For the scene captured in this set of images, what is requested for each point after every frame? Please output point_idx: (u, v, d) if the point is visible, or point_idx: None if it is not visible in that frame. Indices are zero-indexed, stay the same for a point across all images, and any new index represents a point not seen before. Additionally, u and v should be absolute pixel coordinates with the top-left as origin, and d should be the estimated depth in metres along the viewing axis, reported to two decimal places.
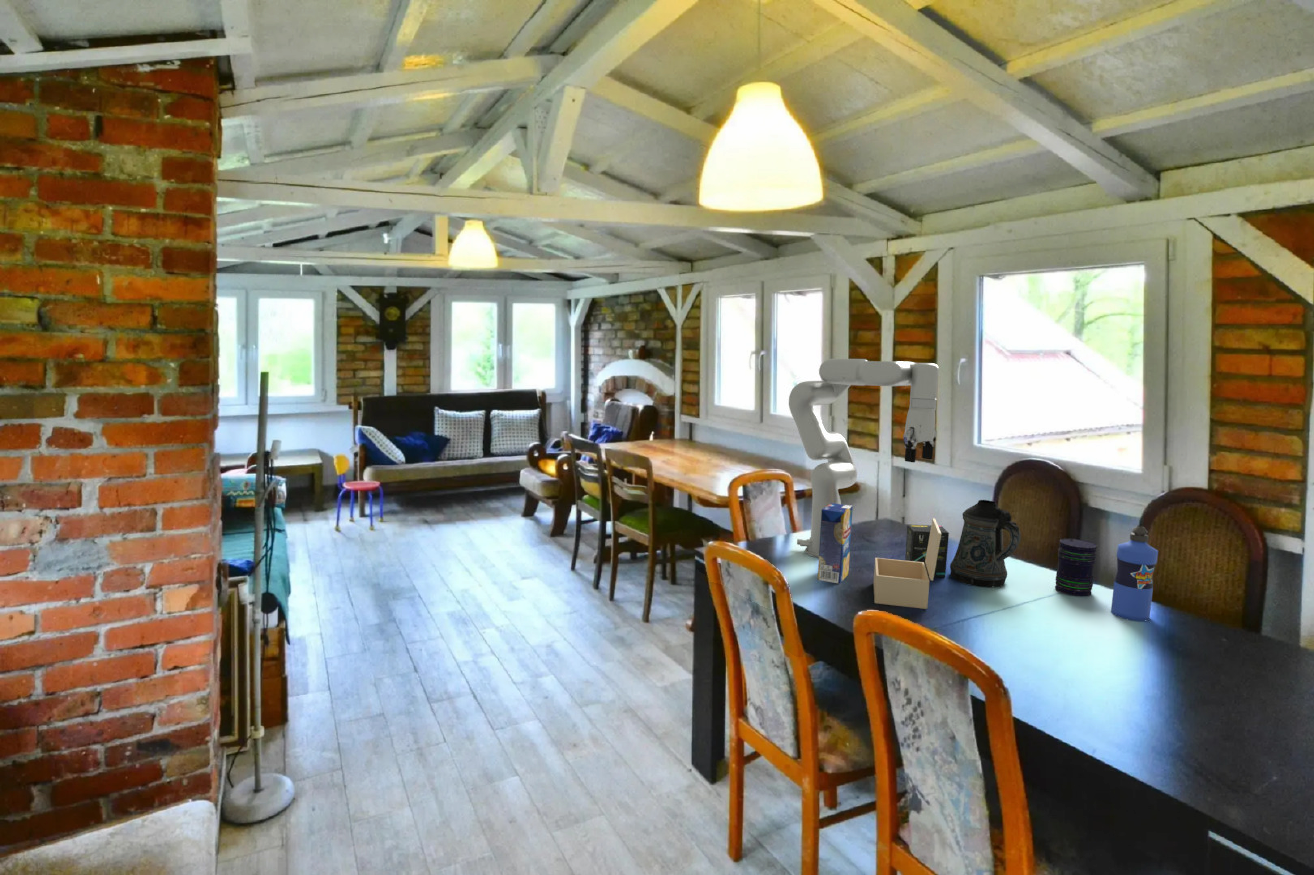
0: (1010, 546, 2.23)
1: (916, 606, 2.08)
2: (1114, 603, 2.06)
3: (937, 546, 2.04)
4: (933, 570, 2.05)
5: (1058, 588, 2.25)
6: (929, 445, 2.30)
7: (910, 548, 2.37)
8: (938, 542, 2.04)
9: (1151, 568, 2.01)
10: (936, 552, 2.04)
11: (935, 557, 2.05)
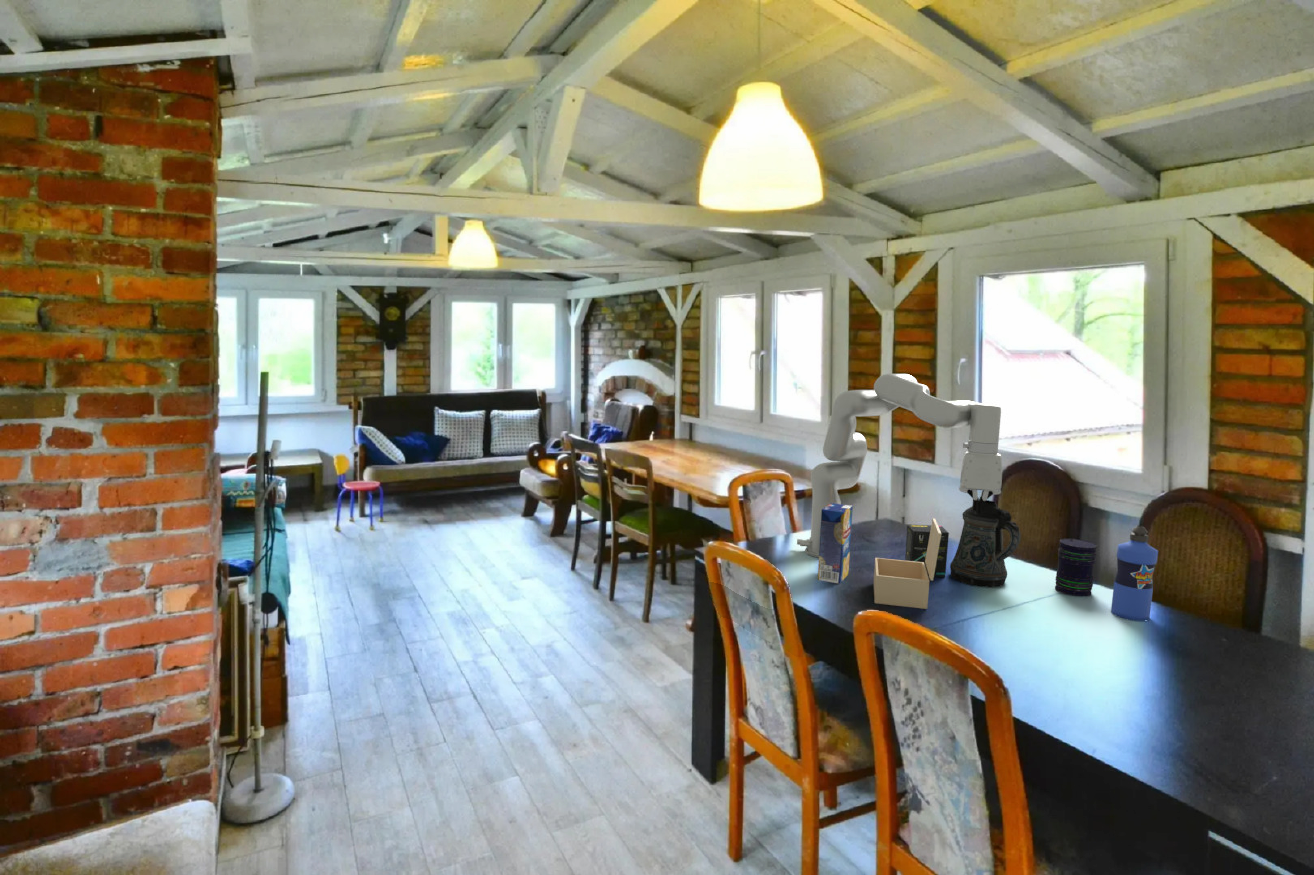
0: (1010, 546, 2.23)
1: (916, 606, 2.08)
2: (1114, 603, 2.06)
3: (937, 546, 2.04)
4: (933, 570, 2.05)
5: (1058, 588, 2.25)
6: None
7: (910, 548, 2.37)
8: (938, 542, 2.04)
9: (1151, 568, 2.01)
10: (936, 552, 2.04)
11: (935, 557, 2.05)
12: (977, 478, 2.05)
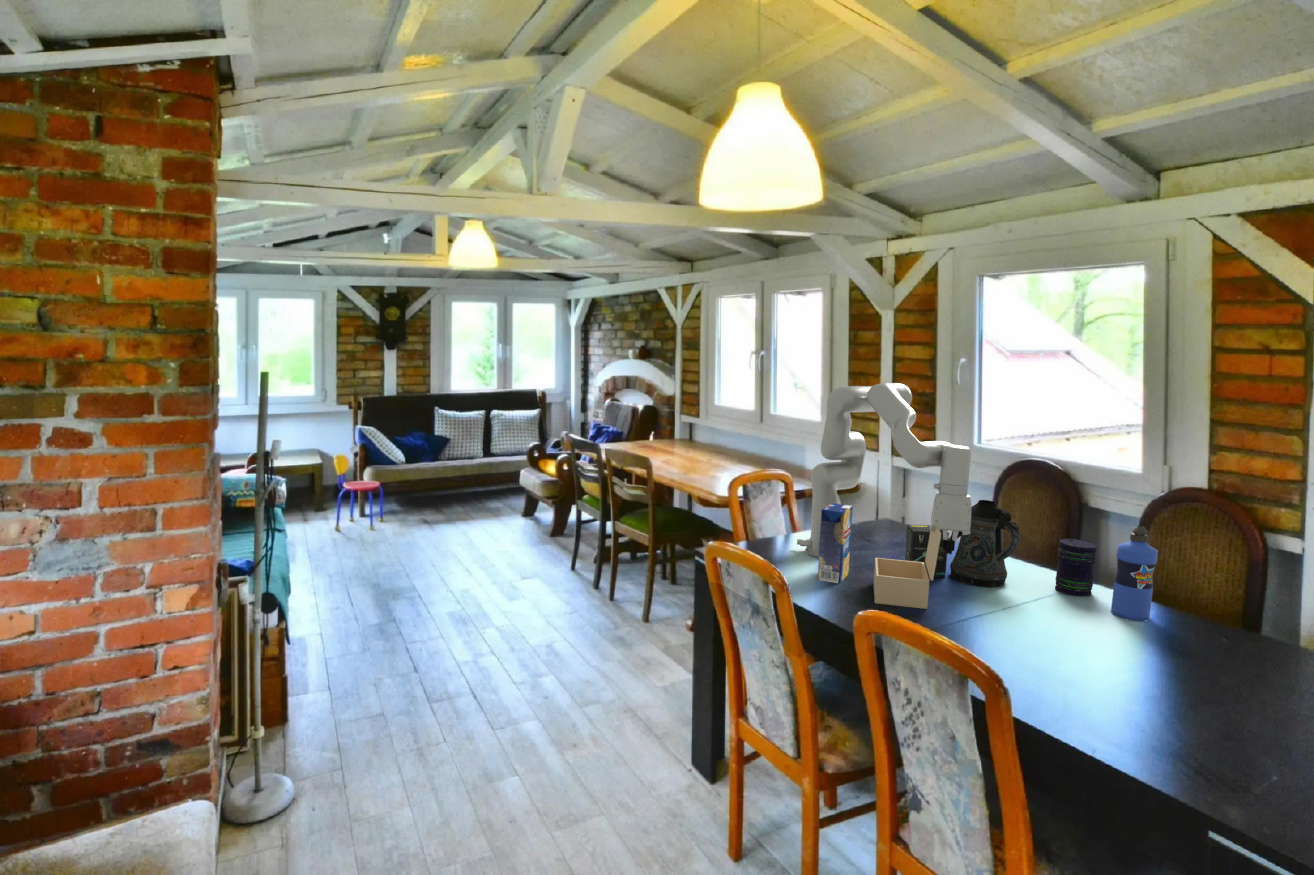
0: (1010, 546, 2.23)
1: (916, 606, 2.08)
2: (1114, 603, 2.06)
3: (937, 546, 2.04)
4: (933, 570, 2.05)
5: (1058, 588, 2.25)
6: None
7: (910, 548, 2.37)
8: (938, 542, 2.04)
9: (1151, 568, 2.01)
10: (936, 552, 2.04)
11: (935, 557, 2.05)
12: (947, 519, 2.09)
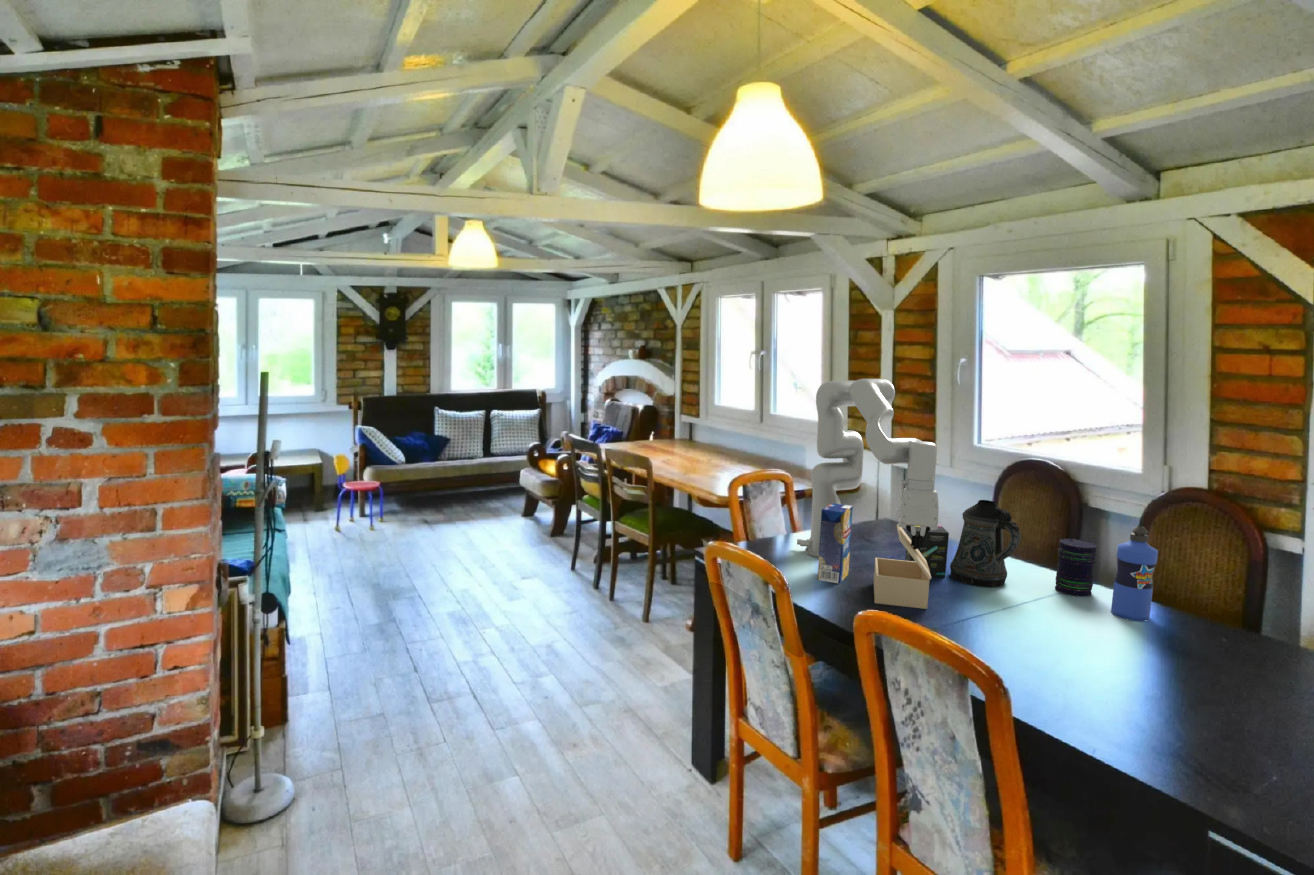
0: (1010, 546, 2.23)
1: (916, 606, 2.08)
2: (1114, 603, 2.06)
3: (908, 550, 2.06)
4: (924, 570, 2.06)
5: (1058, 588, 2.25)
6: None
7: None
8: (906, 546, 2.06)
9: (1151, 568, 2.01)
10: (912, 555, 2.06)
11: (915, 559, 2.06)
12: (915, 514, 2.11)
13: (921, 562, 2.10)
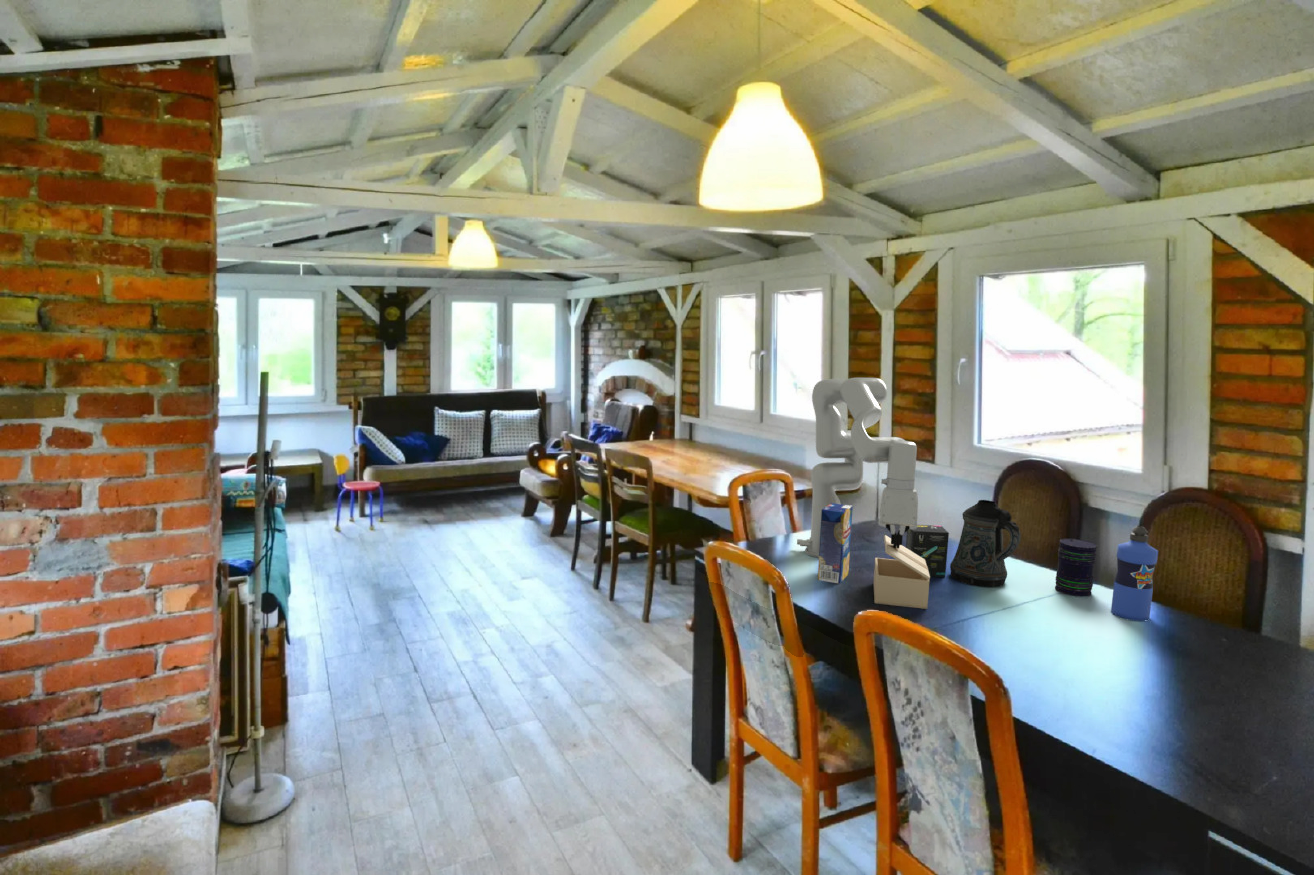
0: (1010, 546, 2.23)
1: (916, 606, 2.08)
2: (1114, 603, 2.06)
3: (898, 559, 2.07)
4: (920, 573, 2.06)
5: (1058, 588, 2.25)
6: None
7: (910, 548, 2.37)
8: (894, 556, 2.08)
9: (1151, 568, 2.01)
10: (903, 562, 2.07)
11: (908, 565, 2.07)
12: (894, 513, 2.12)
13: (916, 565, 2.10)
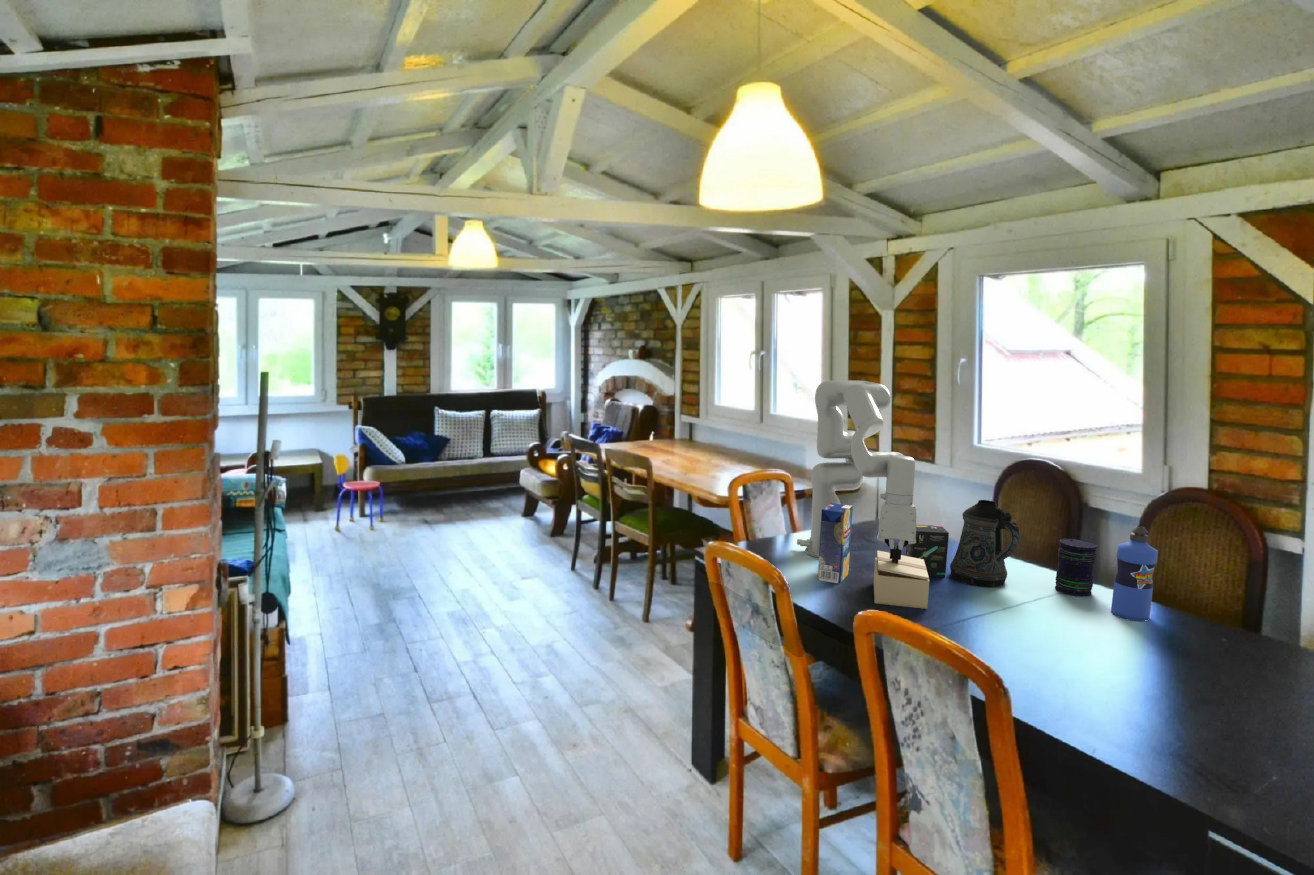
0: (1010, 546, 2.23)
1: (916, 606, 2.08)
2: (1114, 603, 2.06)
3: (892, 571, 2.08)
4: (917, 576, 2.07)
5: (1058, 588, 2.25)
6: None
7: (910, 548, 2.37)
8: (888, 570, 2.08)
9: (1151, 568, 2.01)
10: (898, 572, 2.08)
11: (903, 574, 2.07)
12: (893, 528, 2.12)
13: (912, 570, 2.10)
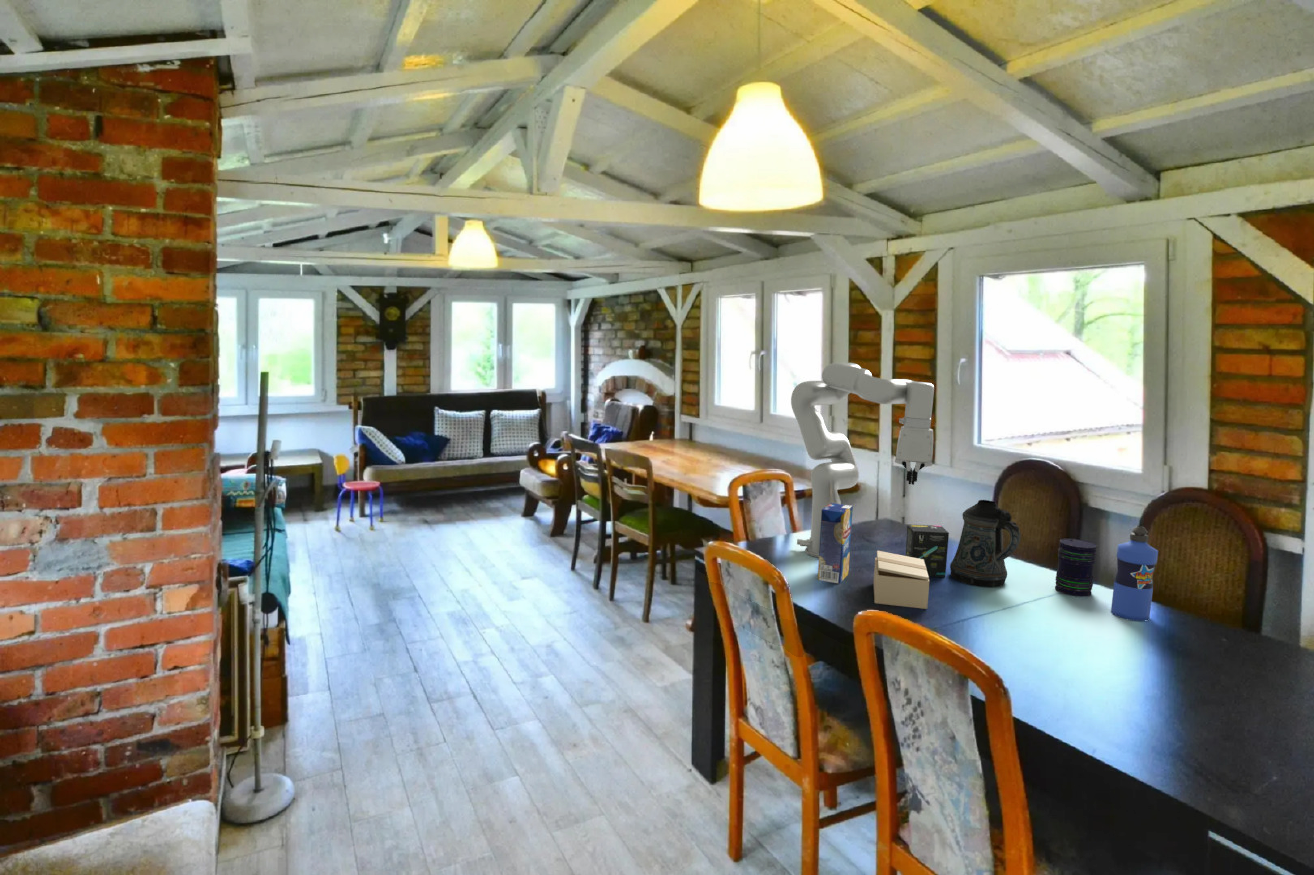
0: (1010, 546, 2.23)
1: (916, 606, 2.08)
2: (1114, 603, 2.06)
3: (892, 571, 2.08)
4: (917, 576, 2.07)
5: (1058, 588, 2.25)
6: None
7: (910, 548, 2.37)
8: (888, 570, 2.08)
9: (1151, 568, 2.01)
10: (898, 573, 2.08)
11: (903, 574, 2.07)
12: (910, 451, 2.23)
13: (912, 570, 2.10)
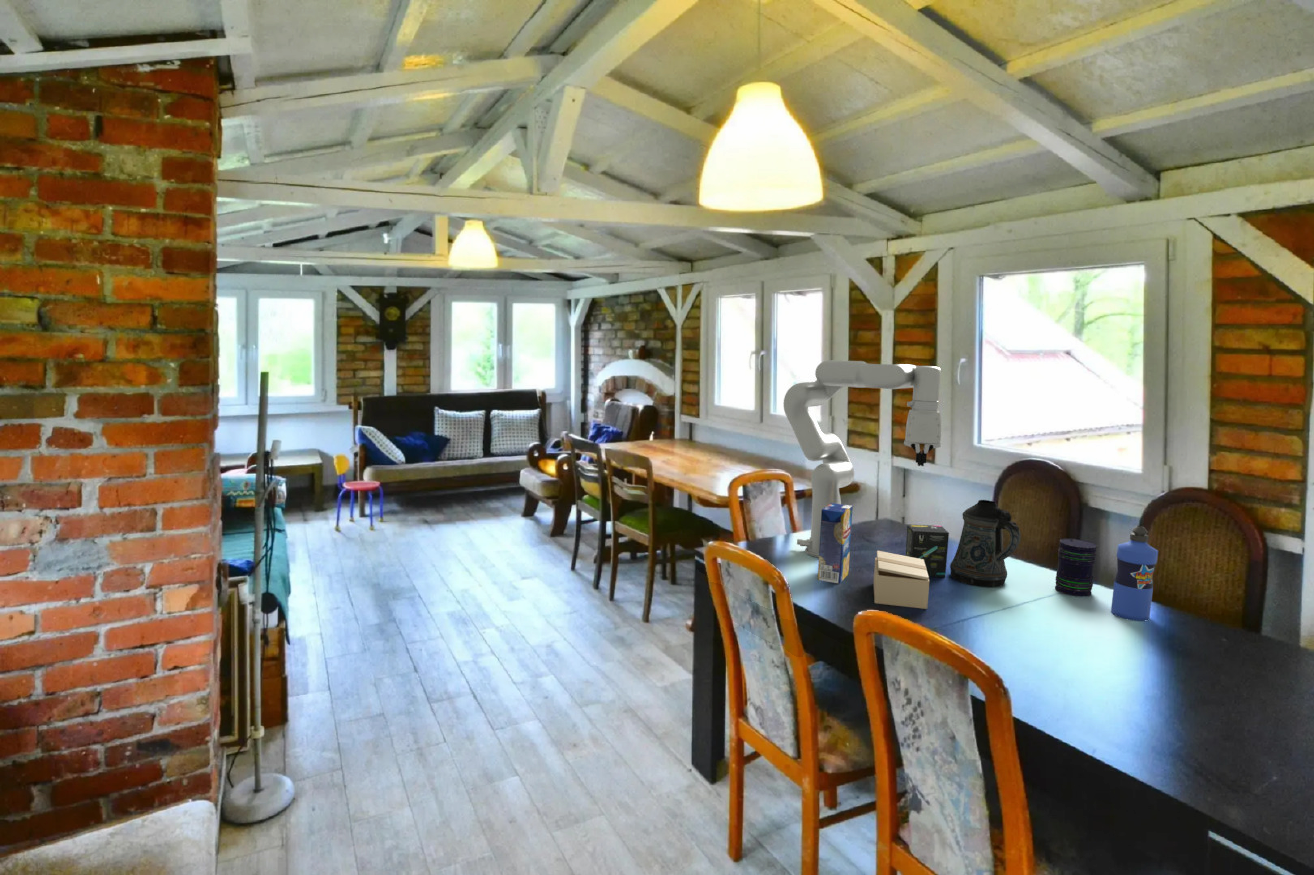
0: (1010, 546, 2.23)
1: (916, 606, 2.08)
2: (1114, 603, 2.06)
3: (892, 571, 2.08)
4: (917, 576, 2.07)
5: (1058, 588, 2.25)
6: None
7: (910, 548, 2.37)
8: (888, 570, 2.08)
9: (1151, 568, 2.01)
10: (898, 573, 2.08)
11: (903, 574, 2.07)
12: (919, 433, 2.29)
13: (912, 570, 2.10)
